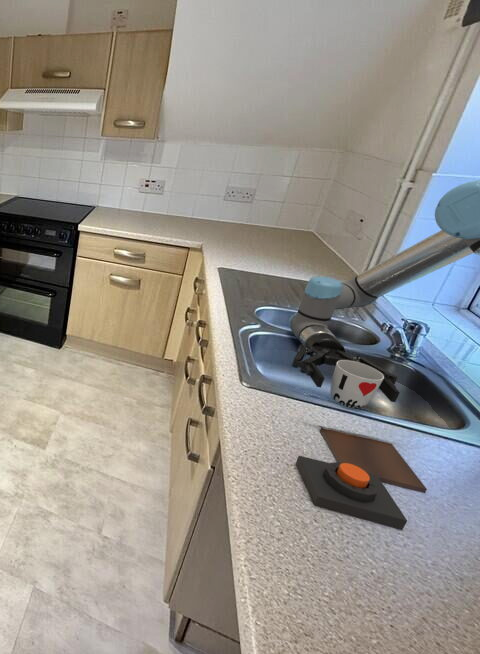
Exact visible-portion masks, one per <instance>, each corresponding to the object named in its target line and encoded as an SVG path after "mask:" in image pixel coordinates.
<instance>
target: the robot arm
mask: <svg viewBox="0 0 480 654" xmlns="http://www.w3.org/2000/svg"><path fill="white" fill-rule="evenodd" d="M434 220H435V223H436V225H437V226H438V228H439V229H440V230H439V231H437V232H435V233H433V234H431V235H429V236H428V237H426V238H424V239H422V240H420V241H419V242H417V243H415V244H413V245H411V246H409V247H407V248H406V249H404V250H402V251H400V252H398V253H396V254H395V255H393V256H391V257H389V258H386V259H385V260H383V261H381V262H379V263H378V264H376V265H374V266H372V267H370V268H368V269H367V270H365V271H363V272H360V273H359V274H357V275H356V276H354V277H352V278H349V279H348V280H346V281H343V282H342V281H341V280H338V279H335V278H332V277H328V276H320V275H319V276H318V275H317V276H312V277H311V278H309V280H308V282H307V284H306V287H305V288H304V291H303V294H302V298H301V301H300V303H299V308H298V310H297V311H296V312H294V313H293V314H292V315H291V316H290V317H289V319H288V327H289V328H290V331H291V332H292V334H293V335H294V336H295V337H296V338H297V340H298V341H299V343H300V344H298V345H299V346H298V348H297V351H296V354H295V356H294V357H293V360H292V363H291V367H292V368H295V369H297V368H300V369H299V372H300V373H301V374H305V375H306V376H307V377H310V379H311V380H312V381H313V383H314V384H315V386H316V387H317V388H322V386H323V384H324V380H325V376H324V375H323V373H322V372H321V370H320V369H319V368H318V366H319V367H320V366H322V365H328V366H335V367H336V363H337V362H338V361H340V360H350V361H355V362H359V363H362V364H365V365H368V366H370V367H372V368H374V369H376V370H378V371H379V372H381V373H382V374H383V376H384V379H383V381H382V382H381V384H380V386H379V388H378V389H379V390H380V391H381V393H383V395H384V396H385V397H386V398H387V399H388V401H390V402H391V403H396V401H397V399H398V397H399V396H400V393H401V391H399V390H398V389H397V386H396V382H397V380H398V378H399V377H398V376H397V375H395V374H393V373H391V372H390V371H388V370H387V369H385V368H383V367H381V366H379V365H377V364H376V363H373V362H372V361H370V360H368V359H367V358H366V357H365V356H364V355H361V354H358V355H357V356H351V355H350V354H348V353H347V352H346V349H345V347H344V345H343V343H342V342H341V341H340V340H339V339H338V338H337V337H336V336H335V334H334V333H333V332H332V331H331V330H330V329H329V328H328V327H329V324H330V322H331V321H332V317H333V314H334V312H335V310H336V311H337V310H344V309H349V308H350V309H352V308H362V307H366V306H369V305H372V304H374V303H376V302H377V300H378V299H379V298H380V297H382V296H385V295H386V294H389V293H390V292H391V293H392V292H393V291H395V290H398V289H399V288H401V287H403V286H405V285H408V284H411V283H412V282H414V281H417V280H418V279H420V278H421V279H422V278H423V277H425V276H427V275H429V274H431V273H434V272H436V271H438V270H440V269H442V268H444V267H447V266H449V265H451V264H452V263H455V262H457V261H459V260H461V259H463V258H466V257H468V256H469V255H472V254H474V255H476V256H480V179H478V180H473V181H468V182H465V183H461V184H459V185H457V186H455V187H453V188H451V189H450V190H448V191H447V192H446V193H445V194H444V195H443V196H442V197H441V198H440V199H439V201H438V203H437V205H436V207H435V210H434ZM308 355H309V357H308V358H306V356H308ZM304 358H305V359H304Z"/></svg>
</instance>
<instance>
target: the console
mask: <svg viewBox="0 0 480 654" xmlns="http://www.w3.org/2000/svg"><path fill="white" fill-rule="evenodd" d="M340 464H342V463H340V462H337V461H334V462H327V461H323V460H318V459H316V458H311V457H308V456H307V457H306V456H303V455H297V459H296V462H295V466H296V468H297V470H298V473H299V475H300V478H301V480H302V482H303V484H304V487H305V488H306V490H307V493H308V495H309V497H310V500H311V502H312V504H313V506H314V507H317V508H322V509H325V510H328V511H332V512H335V513H340V514H343V515H347V516H350V517H353V518H357V519H361V520H365V521H368V522H371V523H375V524H378V525H382V526H386V527H390V528H393V529H396V530H399V531H403V530H404V528H405V526H406V524H407V523H408V519H407V518H406V516H405V515H404V513H403V512H402V510H401V509H400V508H399V506H398V505H397V503H396V502H395V499H394V498H393V497H392V496H391V494H390V492H389V491H388V489H387V488H386V487H385V485H384V483H383V482H381V480H380V479H379V477H378V476H377V475H376V474H372V473H368V472H366V473H367V474H368V475H369V477H370V480H369V482H368V484H367V486H366V488H363V489H361V488H358V487H354V486H352V485H350V484H348V483H346V482H344V481H343V480H342V479H340V478H339V477H338V476H337V470H338V468H339V466H340Z"/></svg>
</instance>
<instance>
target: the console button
mask: <svg viewBox="0 0 480 654" xmlns="http://www.w3.org/2000/svg"><path fill="white" fill-rule="evenodd" d="M337 476H338V477H339V478H340V479H342V480H343V481H344V482H346V483H348V484H350V485H352V486H354V487H358V488H361V489H363V488H366V486H367V484H368V482H369V480H370V477H369V475H368V474H367V473H366V472H365V471H364V470H362V469H361V468H359V467H357V466H355V465H352V464H349V463H342V464H340V466H339V468H338V470H337Z"/></svg>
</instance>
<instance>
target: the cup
mask: <svg viewBox="0 0 480 654" xmlns="http://www.w3.org/2000/svg"><path fill="white" fill-rule="evenodd" d="M383 379H384V376H383V374H382V373H381V372H379V371H378V370H376V369H374V368H372V367H370V366H368V365H365V364H362V363H359V362H355V361H350V360H340V361H338V362H337V363H336V366H335V367H334V370H333V374H332V376H331V384H330V392H329V393H330V398H332V399H333V400H334V401H335V402H337V403H339V404H340V405H342V406H345V407H348V408H351V409H355V410H356V409H357V410H358V409H363V408H365V407H366V406H367V405H368V404H369V402H370V401H371V400H372V398H374V396H375V394H376V393H377V391H378V389H379V386H380V384H381V382H382V381H383Z"/></svg>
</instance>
